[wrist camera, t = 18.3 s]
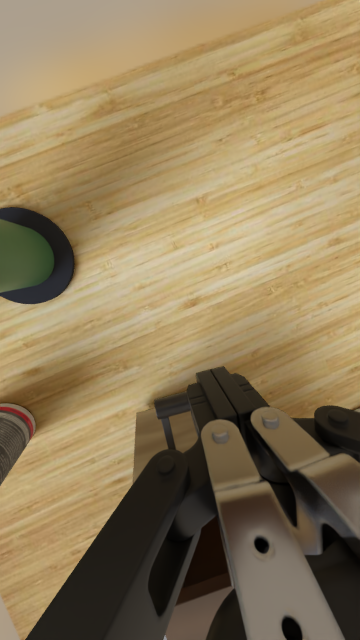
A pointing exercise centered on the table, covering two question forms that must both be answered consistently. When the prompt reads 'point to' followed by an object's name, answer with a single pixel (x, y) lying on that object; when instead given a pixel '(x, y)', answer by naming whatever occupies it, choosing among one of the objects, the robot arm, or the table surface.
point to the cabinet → (197, 608)
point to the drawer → (179, 433)
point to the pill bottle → (13, 435)
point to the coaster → (60, 250)
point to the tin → (23, 257)
